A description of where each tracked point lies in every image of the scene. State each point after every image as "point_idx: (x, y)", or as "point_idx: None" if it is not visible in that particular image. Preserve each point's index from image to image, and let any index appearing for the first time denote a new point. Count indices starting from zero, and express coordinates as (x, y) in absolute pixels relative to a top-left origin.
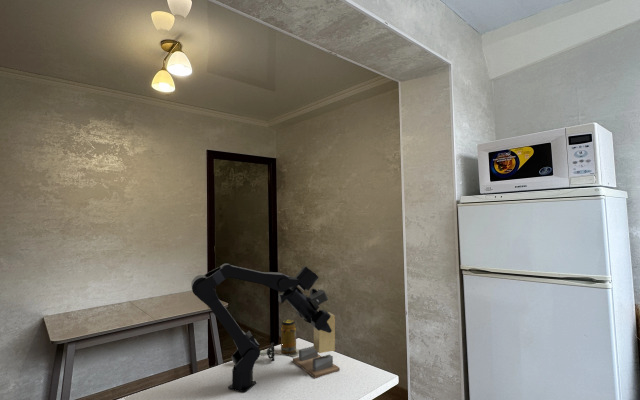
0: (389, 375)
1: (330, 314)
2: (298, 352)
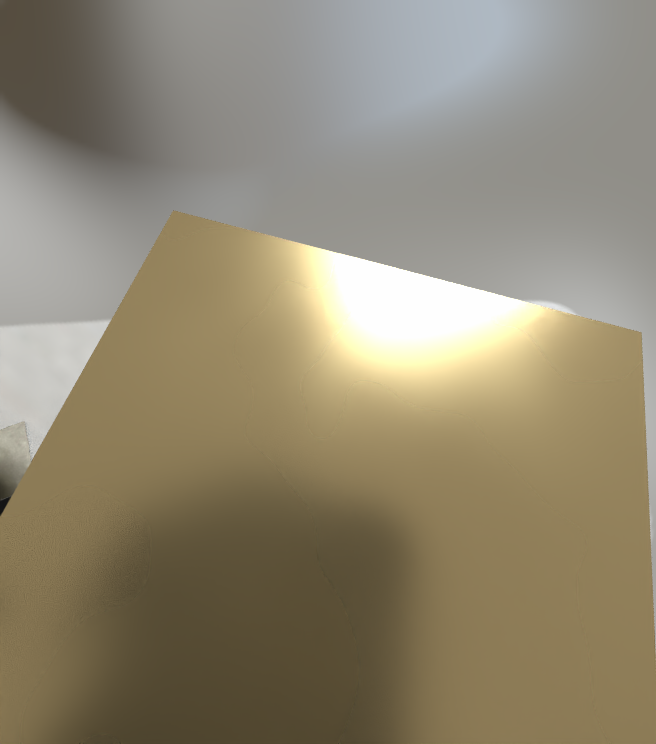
0: (556, 309)
1: (463, 366)
2: (13, 469)
